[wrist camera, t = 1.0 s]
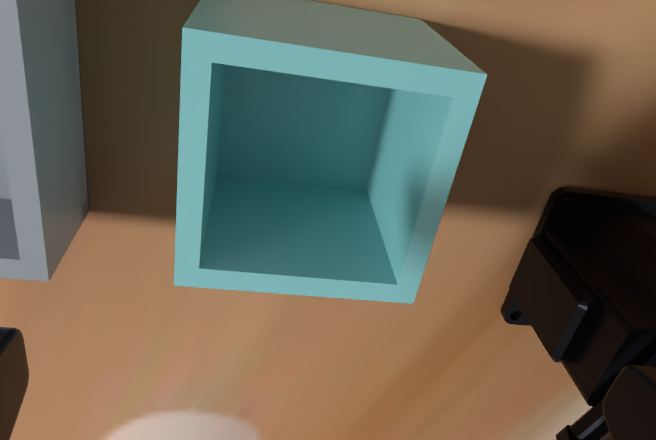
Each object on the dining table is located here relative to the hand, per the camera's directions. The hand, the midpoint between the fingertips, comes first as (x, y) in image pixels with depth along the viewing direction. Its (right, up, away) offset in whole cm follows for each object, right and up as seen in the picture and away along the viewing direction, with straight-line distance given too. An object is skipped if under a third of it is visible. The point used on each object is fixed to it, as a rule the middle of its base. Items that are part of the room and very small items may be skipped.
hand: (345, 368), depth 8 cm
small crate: (-1, +6, +10) cm, 12 cm away
